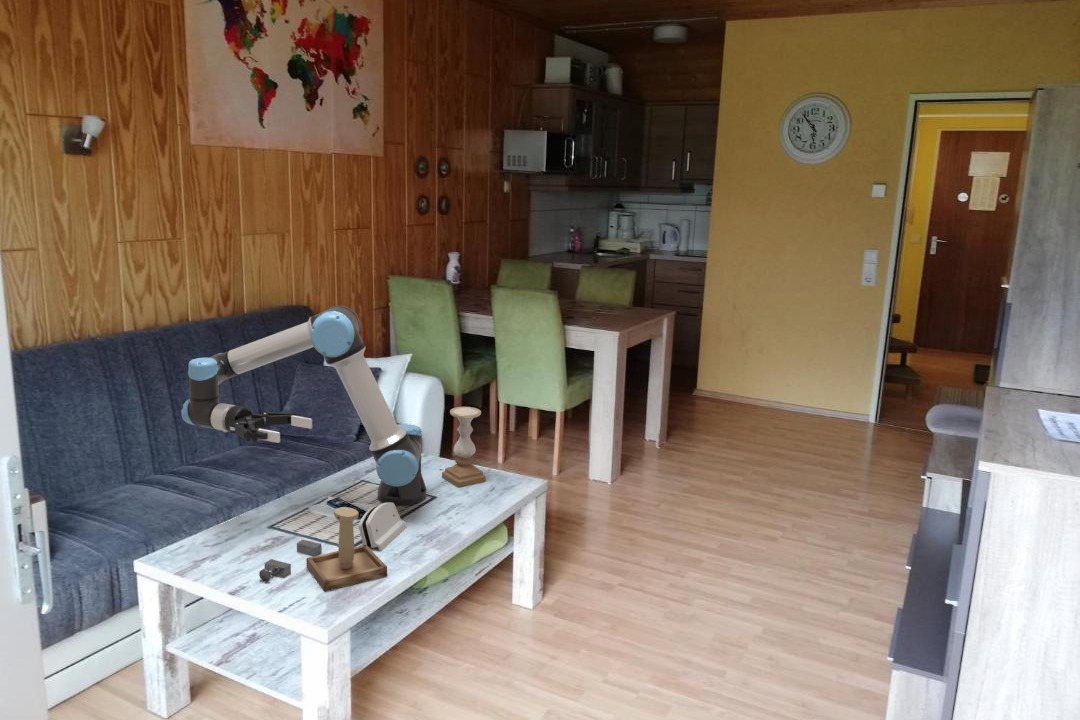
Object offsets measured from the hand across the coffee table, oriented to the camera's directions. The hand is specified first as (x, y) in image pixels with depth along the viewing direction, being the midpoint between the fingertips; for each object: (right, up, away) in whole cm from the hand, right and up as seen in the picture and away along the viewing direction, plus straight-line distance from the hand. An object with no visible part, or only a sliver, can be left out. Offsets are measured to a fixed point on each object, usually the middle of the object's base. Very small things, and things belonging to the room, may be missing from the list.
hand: (295, 430), depth 214 cm
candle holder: (+40, -21, +52) cm, 69 cm away
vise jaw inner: (+5, -32, -4) cm, 32 cm away
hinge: (+22, -31, +7) cm, 38 cm away
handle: (+17, -34, -13) cm, 40 cm away
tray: (+17, -35, -13) cm, 41 cm away
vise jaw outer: (-1, -35, -17) cm, 39 cm away
